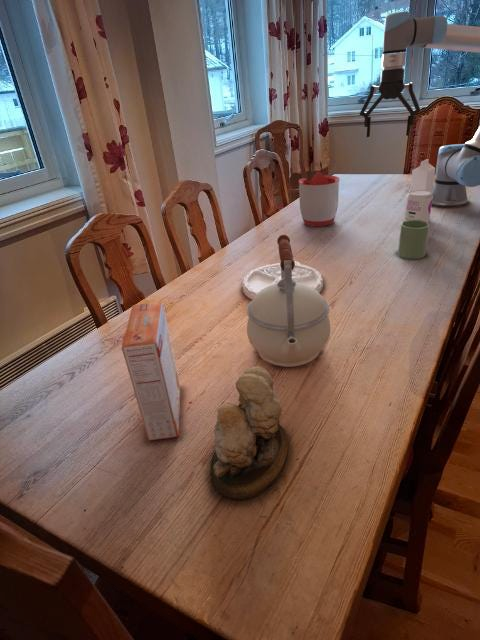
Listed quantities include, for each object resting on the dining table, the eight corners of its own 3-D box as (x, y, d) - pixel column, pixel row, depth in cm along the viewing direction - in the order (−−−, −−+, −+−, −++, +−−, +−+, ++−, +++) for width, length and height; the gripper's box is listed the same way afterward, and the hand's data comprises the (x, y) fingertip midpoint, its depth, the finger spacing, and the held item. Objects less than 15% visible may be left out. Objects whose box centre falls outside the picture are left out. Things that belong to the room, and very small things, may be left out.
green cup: (408, 247, 143) (412, 218, 138) (430, 254, 137) (435, 223, 132) (392, 254, 139) (395, 224, 134) (414, 261, 133) (418, 230, 128)
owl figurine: (240, 413, 81) (231, 337, 72) (300, 427, 76) (299, 348, 68) (195, 489, 67) (177, 406, 58) (266, 512, 62) (258, 426, 54)
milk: (428, 218, 166) (437, 159, 155) (420, 223, 163) (429, 162, 152) (413, 216, 170) (421, 157, 159) (405, 220, 167) (413, 161, 156)
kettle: (249, 326, 108) (240, 231, 95) (322, 322, 107) (323, 225, 94) (248, 391, 86) (236, 278, 74) (340, 386, 85) (344, 271, 73)
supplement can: (426, 231, 154) (432, 189, 147) (427, 239, 148) (433, 196, 140) (402, 231, 157) (407, 189, 149) (402, 239, 150) (406, 195, 143)
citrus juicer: (324, 213, 183) (325, 164, 173) (345, 224, 169) (347, 171, 159) (291, 219, 180) (289, 170, 170) (309, 231, 165) (309, 178, 155)
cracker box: (152, 392, 89) (131, 303, 78) (181, 388, 89) (164, 299, 78) (145, 442, 76) (119, 345, 66) (179, 438, 77) (158, 340, 66)
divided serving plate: (231, 300, 121) (230, 293, 120) (260, 263, 142) (259, 256, 141) (313, 308, 113) (313, 300, 112) (331, 267, 135) (331, 260, 133)
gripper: (353, 72, 146) (350, 138, 157) (432, 65, 137) (424, 136, 148) (357, 71, 152) (354, 135, 163) (433, 64, 143) (425, 132, 154)
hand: (387, 135), depth 156 cm, fingers open, 13 cm apart
